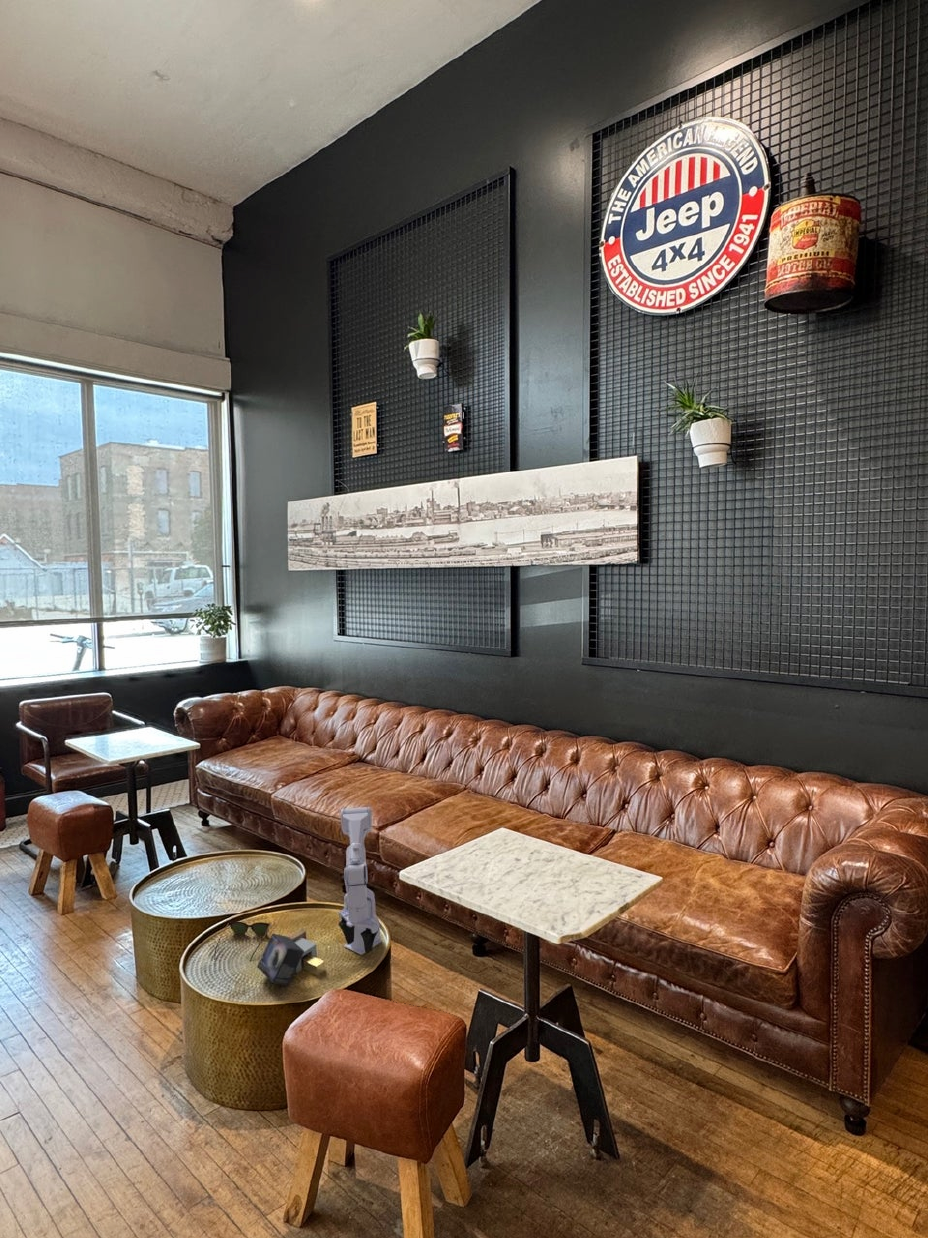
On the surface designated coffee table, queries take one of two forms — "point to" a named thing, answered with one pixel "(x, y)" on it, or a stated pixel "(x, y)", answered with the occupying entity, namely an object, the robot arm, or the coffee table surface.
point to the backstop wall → (298, 935)
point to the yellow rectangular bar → (312, 964)
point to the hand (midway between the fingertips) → (359, 947)
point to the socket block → (305, 950)
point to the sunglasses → (242, 928)
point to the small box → (280, 959)
